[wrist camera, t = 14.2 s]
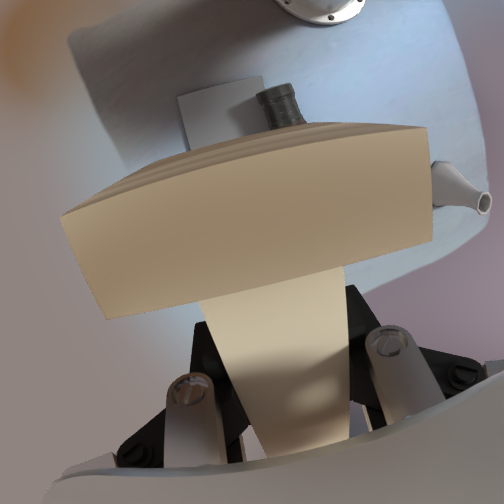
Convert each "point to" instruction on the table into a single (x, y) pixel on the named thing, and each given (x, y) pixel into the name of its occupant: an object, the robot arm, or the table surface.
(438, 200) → the flask
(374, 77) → the table surface
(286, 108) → the sauce bottle
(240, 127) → the mat
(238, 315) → the beige t-shaped block
